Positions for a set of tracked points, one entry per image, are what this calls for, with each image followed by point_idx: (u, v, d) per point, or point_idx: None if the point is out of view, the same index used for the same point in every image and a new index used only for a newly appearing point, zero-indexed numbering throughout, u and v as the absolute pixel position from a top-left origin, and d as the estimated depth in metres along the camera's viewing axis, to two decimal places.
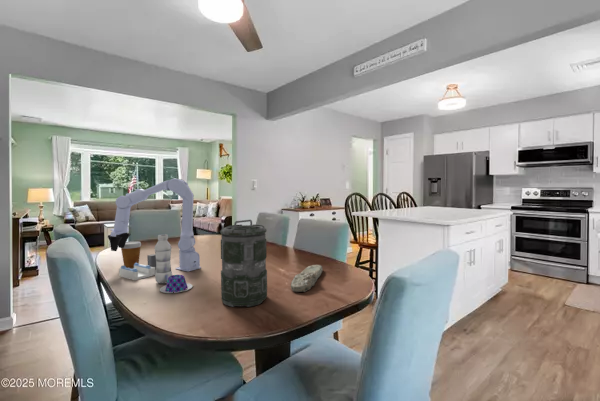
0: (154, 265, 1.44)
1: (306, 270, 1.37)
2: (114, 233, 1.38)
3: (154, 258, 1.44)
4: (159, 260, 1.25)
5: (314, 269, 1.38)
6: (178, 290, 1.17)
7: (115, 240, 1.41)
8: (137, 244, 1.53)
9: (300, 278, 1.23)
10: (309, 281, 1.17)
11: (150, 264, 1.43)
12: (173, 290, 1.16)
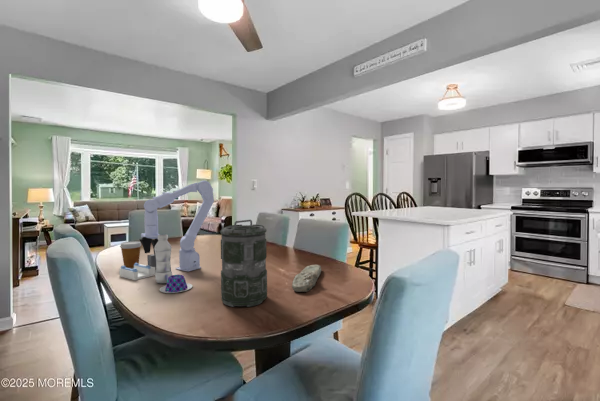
0: (154, 265, 1.44)
1: (305, 270, 1.37)
2: None
3: (154, 258, 1.44)
4: (159, 260, 1.25)
5: (313, 269, 1.38)
6: (178, 290, 1.17)
7: None
8: (137, 244, 1.53)
9: (301, 278, 1.23)
10: (310, 281, 1.17)
11: (150, 264, 1.43)
12: (173, 290, 1.16)
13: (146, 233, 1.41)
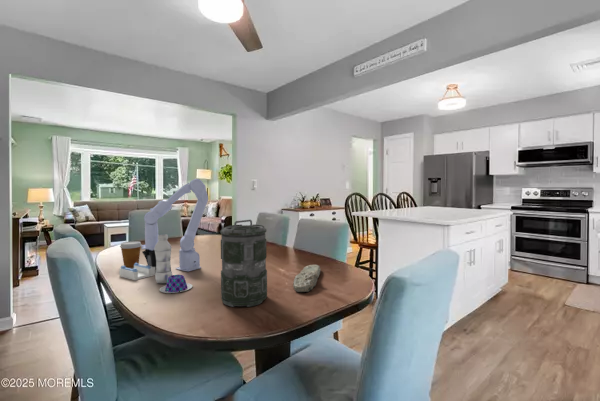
0: None
1: (305, 270, 1.37)
2: None
3: None
4: (159, 260, 1.25)
5: (312, 269, 1.38)
6: (177, 290, 1.17)
7: (155, 255, 1.43)
8: (137, 244, 1.53)
9: (301, 278, 1.23)
10: (312, 281, 1.17)
11: (150, 264, 1.43)
12: (172, 290, 1.16)
13: (146, 245, 1.42)
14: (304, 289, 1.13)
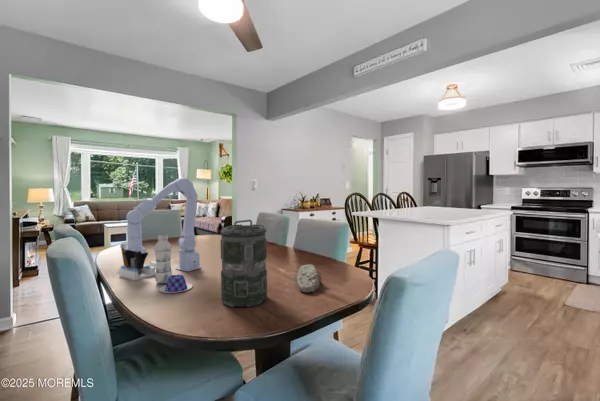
0: (138, 269, 1.37)
1: (302, 270, 1.36)
2: (145, 249, 1.34)
3: None
4: (159, 260, 1.25)
5: (309, 269, 1.39)
6: (176, 290, 1.16)
7: (141, 257, 1.35)
8: None
9: (304, 278, 1.23)
10: (317, 281, 1.18)
11: (133, 268, 1.36)
12: (171, 290, 1.16)
13: (129, 246, 1.35)
14: (311, 289, 1.13)
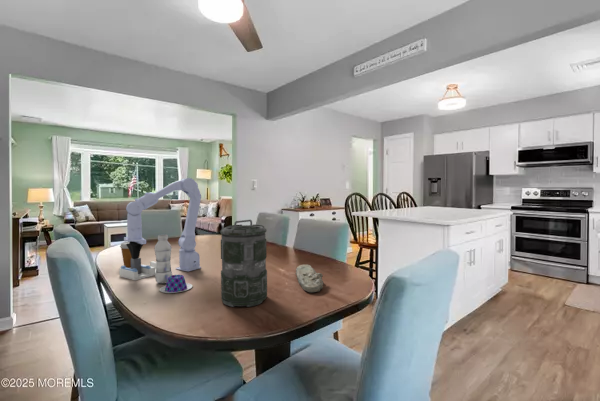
0: (138, 269, 1.37)
1: (301, 270, 1.36)
2: (145, 240, 1.34)
3: (138, 261, 1.37)
4: (159, 260, 1.25)
5: (307, 269, 1.39)
6: (175, 290, 1.16)
7: (136, 247, 1.37)
8: None
9: (307, 279, 1.23)
10: (321, 280, 1.18)
11: (133, 268, 1.36)
12: (171, 290, 1.16)
13: (129, 237, 1.35)
14: (317, 289, 1.14)
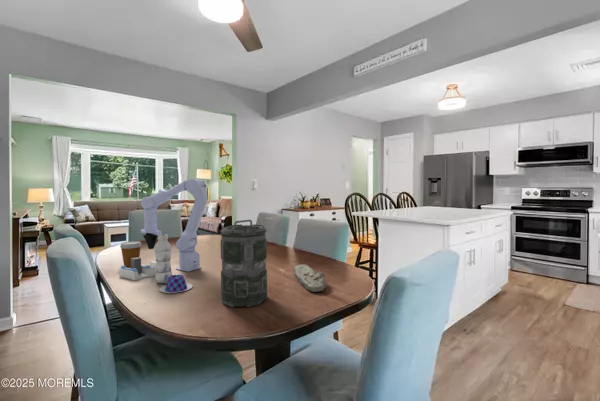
0: (138, 269, 1.37)
1: (300, 270, 1.36)
2: (160, 231, 1.49)
3: (138, 261, 1.37)
4: (159, 260, 1.25)
5: (305, 269, 1.39)
6: (174, 290, 1.16)
7: (152, 238, 1.52)
8: (137, 244, 1.53)
9: (309, 278, 1.23)
10: (324, 280, 1.19)
11: (133, 268, 1.36)
12: (170, 290, 1.16)
13: (145, 229, 1.49)
14: (321, 288, 1.14)
